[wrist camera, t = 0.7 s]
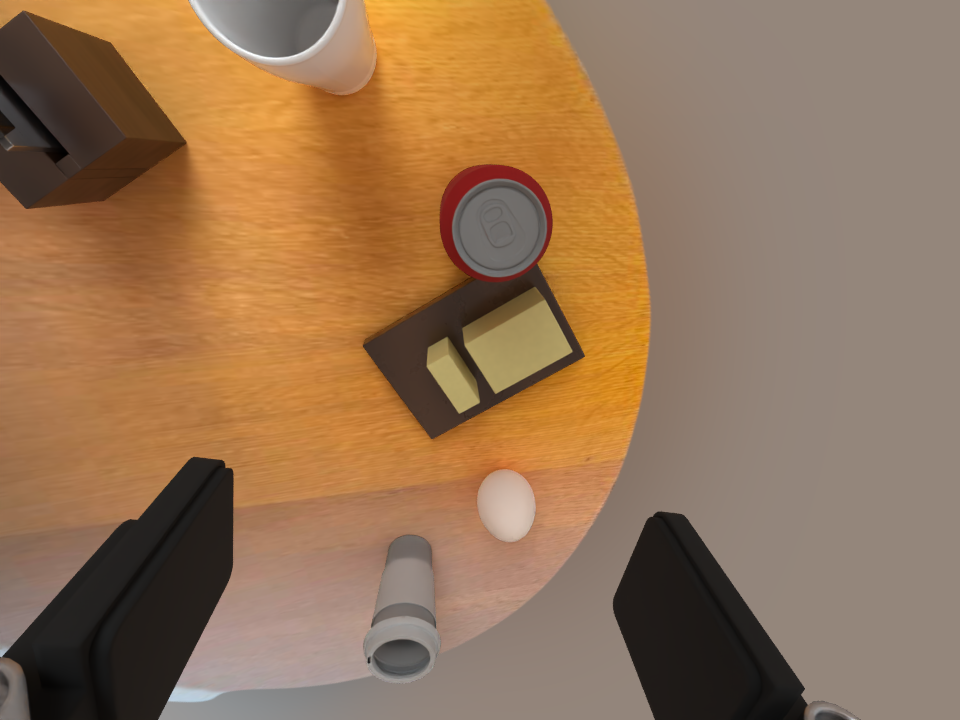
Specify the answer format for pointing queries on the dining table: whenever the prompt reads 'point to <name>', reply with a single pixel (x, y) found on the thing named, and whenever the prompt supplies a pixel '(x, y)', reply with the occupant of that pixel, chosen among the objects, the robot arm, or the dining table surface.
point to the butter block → (515, 340)
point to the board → (445, 316)
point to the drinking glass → (297, 39)
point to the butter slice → (452, 375)
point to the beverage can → (495, 222)
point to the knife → (23, 125)
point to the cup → (404, 615)
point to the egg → (506, 505)
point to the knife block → (78, 115)
